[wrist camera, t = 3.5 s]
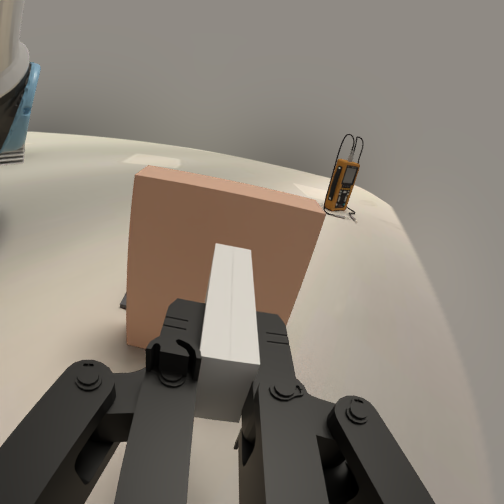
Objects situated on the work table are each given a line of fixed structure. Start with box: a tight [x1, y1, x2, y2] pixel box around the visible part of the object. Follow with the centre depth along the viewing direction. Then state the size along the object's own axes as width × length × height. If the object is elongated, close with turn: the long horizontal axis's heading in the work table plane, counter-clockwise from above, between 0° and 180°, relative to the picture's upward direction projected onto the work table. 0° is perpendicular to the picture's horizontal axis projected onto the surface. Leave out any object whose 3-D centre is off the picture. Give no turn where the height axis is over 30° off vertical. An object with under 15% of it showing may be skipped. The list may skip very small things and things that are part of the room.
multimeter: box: [324, 134, 363, 222], centre depth 73 cm, size 15×10×20 cm
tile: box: [126, 165, 326, 349], centre depth 23 cm, size 3×12×14 cm, turn 92°
